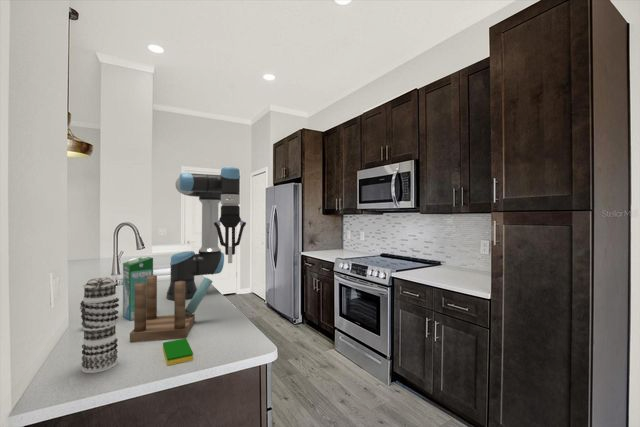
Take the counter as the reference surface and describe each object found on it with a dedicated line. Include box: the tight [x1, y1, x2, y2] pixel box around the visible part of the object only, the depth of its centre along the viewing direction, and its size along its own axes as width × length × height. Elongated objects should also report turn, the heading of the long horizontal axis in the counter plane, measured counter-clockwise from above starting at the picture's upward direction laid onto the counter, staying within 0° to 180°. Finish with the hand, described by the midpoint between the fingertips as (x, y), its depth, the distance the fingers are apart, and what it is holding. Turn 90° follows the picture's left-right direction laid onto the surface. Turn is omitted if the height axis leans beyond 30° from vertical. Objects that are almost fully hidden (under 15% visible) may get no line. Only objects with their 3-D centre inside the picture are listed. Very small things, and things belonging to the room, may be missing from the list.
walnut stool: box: [129, 274, 196, 343], centre depth 120 cm, size 19×18×19 cm
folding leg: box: [185, 277, 213, 314], centre depth 128 cm, size 4×4×14 cm
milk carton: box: [122, 255, 154, 322], centre depth 137 cm, size 9×9×25 cm
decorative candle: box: [79, 277, 120, 374], centre depth 92 cm, size 9×9×25 cm
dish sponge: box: [162, 337, 194, 366], centre depth 100 cm, size 7×14×2 cm, turn 31°
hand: (230, 262), depth 130 cm, fingers closed
